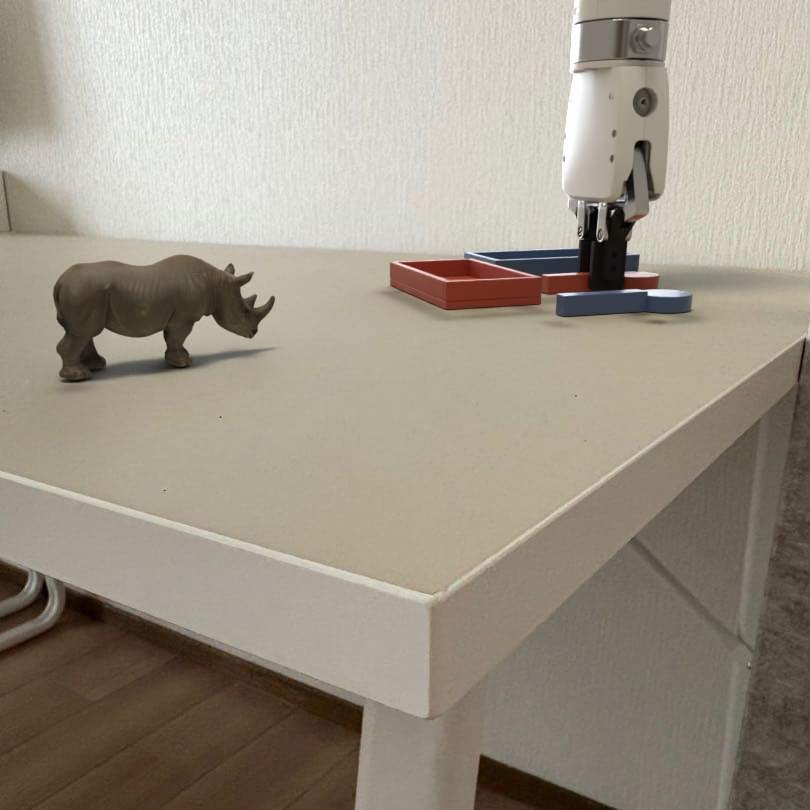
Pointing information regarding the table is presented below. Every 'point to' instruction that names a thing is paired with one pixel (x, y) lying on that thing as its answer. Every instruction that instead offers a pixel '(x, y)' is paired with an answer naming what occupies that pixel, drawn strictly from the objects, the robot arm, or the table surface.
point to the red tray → (465, 283)
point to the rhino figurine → (148, 306)
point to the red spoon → (581, 281)
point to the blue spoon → (623, 302)
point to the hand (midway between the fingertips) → (599, 286)
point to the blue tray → (542, 260)
